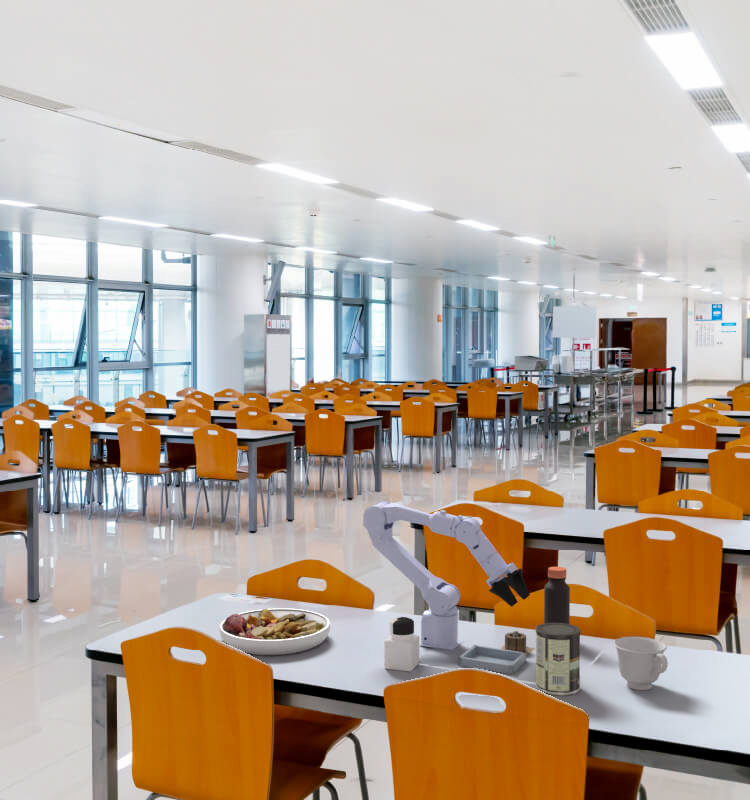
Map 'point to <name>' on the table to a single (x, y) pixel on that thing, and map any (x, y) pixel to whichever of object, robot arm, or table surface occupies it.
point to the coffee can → (558, 658)
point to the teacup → (640, 660)
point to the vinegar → (557, 597)
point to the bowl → (275, 631)
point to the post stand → (528, 649)
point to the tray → (492, 659)
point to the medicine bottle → (401, 645)
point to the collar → (515, 642)
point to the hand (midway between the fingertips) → (520, 601)
